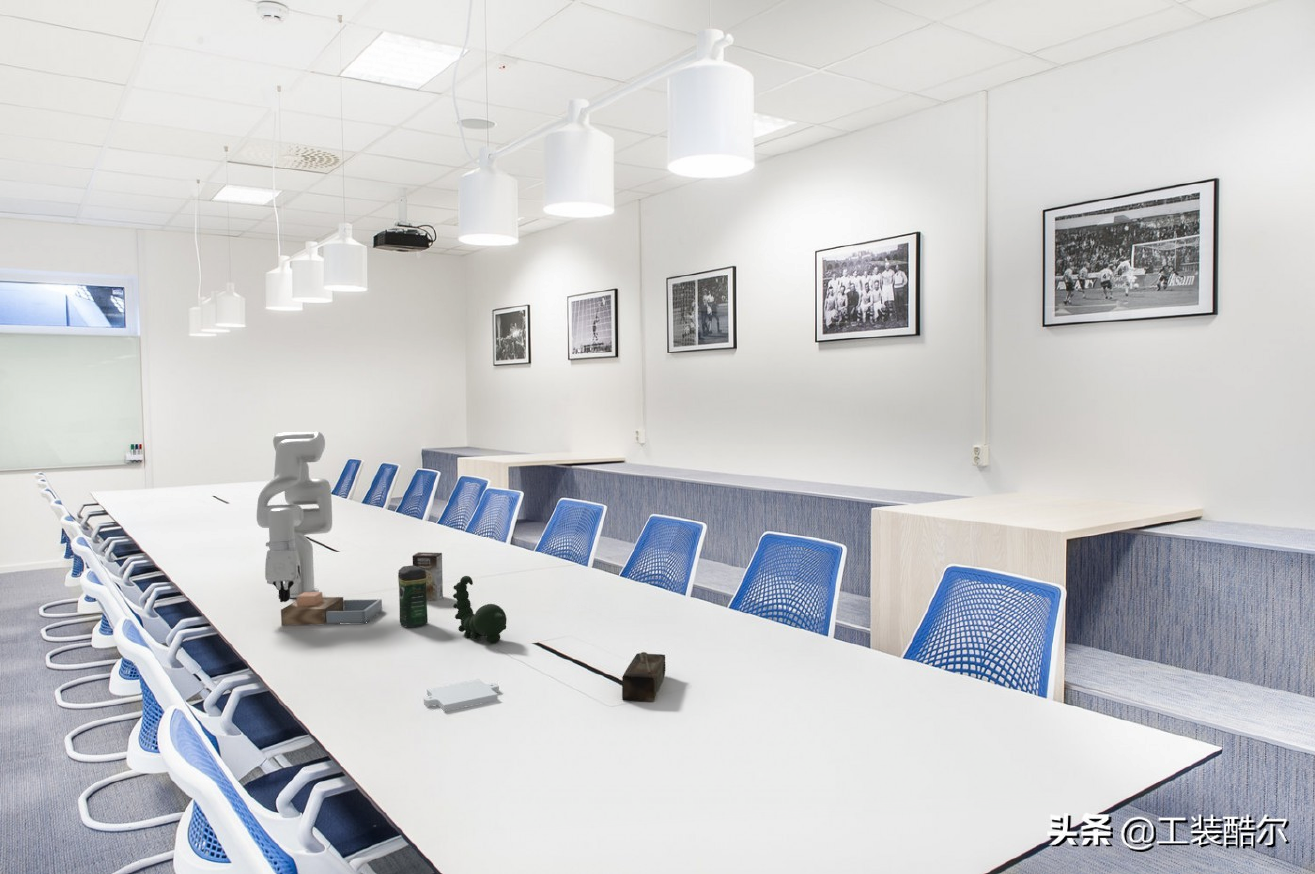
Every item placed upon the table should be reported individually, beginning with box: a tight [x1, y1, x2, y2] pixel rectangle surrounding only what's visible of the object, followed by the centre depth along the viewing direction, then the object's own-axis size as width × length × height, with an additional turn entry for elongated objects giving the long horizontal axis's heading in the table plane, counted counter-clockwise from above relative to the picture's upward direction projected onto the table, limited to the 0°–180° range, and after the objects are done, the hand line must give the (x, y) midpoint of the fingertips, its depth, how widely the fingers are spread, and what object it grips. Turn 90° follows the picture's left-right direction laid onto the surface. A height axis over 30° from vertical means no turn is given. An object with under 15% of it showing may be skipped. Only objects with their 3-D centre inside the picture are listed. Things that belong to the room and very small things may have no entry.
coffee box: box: [412, 551, 444, 601], centre depth 307 cm, size 9×6×16 cm
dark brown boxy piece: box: [621, 651, 666, 703], centre depth 209 cm, size 8×19×7 cm, turn 171°
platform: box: [280, 596, 344, 626], centre depth 283 cm, size 14×16×5 cm
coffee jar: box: [397, 564, 429, 628], centre depth 272 cm, size 10×8×19 cm
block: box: [296, 591, 323, 606], centre depth 283 cm, size 6×6×3 cm
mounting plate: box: [423, 678, 500, 712], centre depth 206 cm, size 18×13×2 cm
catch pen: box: [324, 598, 383, 625], centre depth 283 cm, size 13×16×4 cm
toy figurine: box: [452, 575, 507, 645], centre depth 255 cm, size 9×19×25 cm
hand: (284, 600), depth 283 cm, fingers closed
